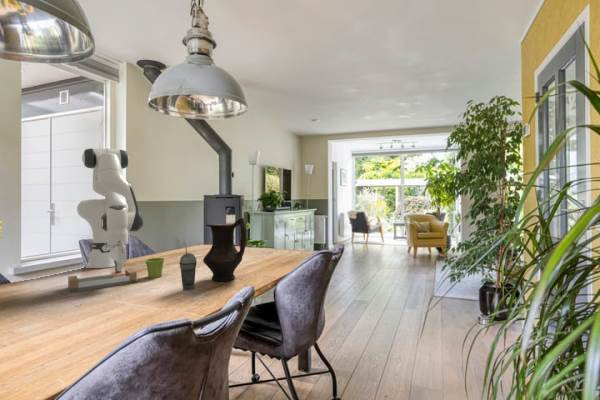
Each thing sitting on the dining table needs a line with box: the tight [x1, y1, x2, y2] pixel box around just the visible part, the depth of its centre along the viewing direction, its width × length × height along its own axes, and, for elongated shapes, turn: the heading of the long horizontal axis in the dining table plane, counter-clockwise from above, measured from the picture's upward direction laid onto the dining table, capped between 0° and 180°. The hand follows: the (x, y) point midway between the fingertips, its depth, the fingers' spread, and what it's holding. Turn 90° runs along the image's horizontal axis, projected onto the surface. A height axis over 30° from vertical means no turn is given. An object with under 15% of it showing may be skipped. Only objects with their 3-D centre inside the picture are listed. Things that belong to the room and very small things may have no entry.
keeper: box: [110, 260, 126, 278], centre depth 160 cm, size 7×5×9 cm
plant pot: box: [144, 257, 166, 279], centre depth 172 cm, size 9×9×9 cm
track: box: [67, 268, 138, 293], centre depth 157 cm, size 10×26×5 cm, turn 127°
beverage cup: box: [178, 242, 198, 292], centre depth 148 cm, size 7×7×20 cm
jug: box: [202, 216, 247, 282], centre depth 165 cm, size 21×18×30 cm
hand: (118, 269), depth 160 cm, fingers closed on keeper, 3 cm apart
